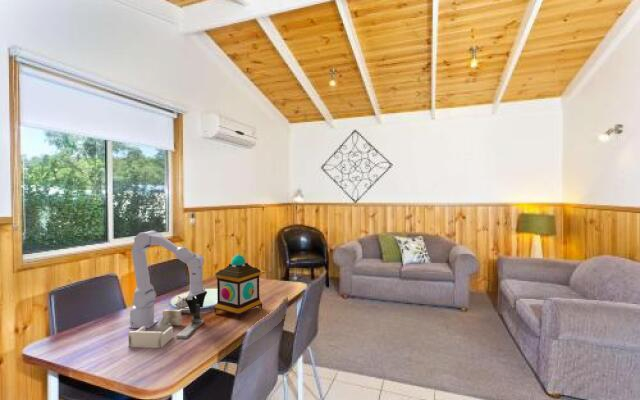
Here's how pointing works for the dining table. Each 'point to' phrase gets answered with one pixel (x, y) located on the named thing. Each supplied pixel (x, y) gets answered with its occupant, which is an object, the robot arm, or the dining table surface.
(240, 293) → the decorative lantern
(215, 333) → the dining table surface
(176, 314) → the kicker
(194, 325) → the rail
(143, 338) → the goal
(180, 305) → the game die
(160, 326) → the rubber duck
